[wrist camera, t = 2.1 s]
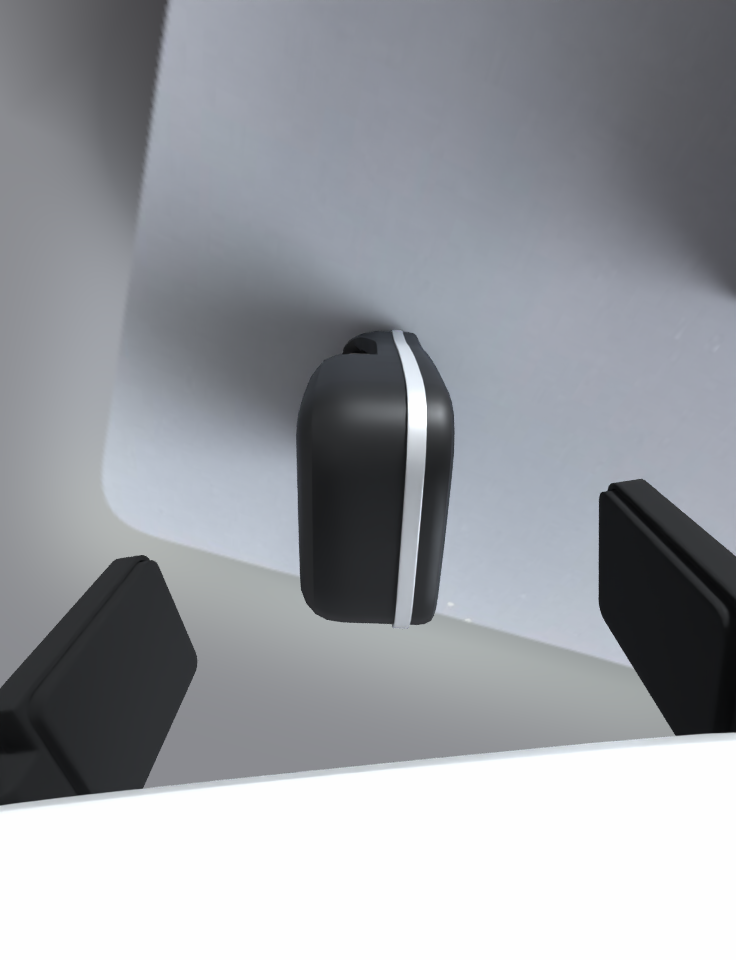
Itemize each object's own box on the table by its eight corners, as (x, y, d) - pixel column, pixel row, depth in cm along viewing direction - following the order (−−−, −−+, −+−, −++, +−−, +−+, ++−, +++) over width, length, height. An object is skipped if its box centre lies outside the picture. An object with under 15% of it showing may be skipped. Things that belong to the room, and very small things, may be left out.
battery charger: (326, 322, 20) (276, 392, 10) (418, 325, 20) (465, 398, 10) (326, 475, 23) (288, 655, 13) (406, 478, 23) (434, 660, 13)
